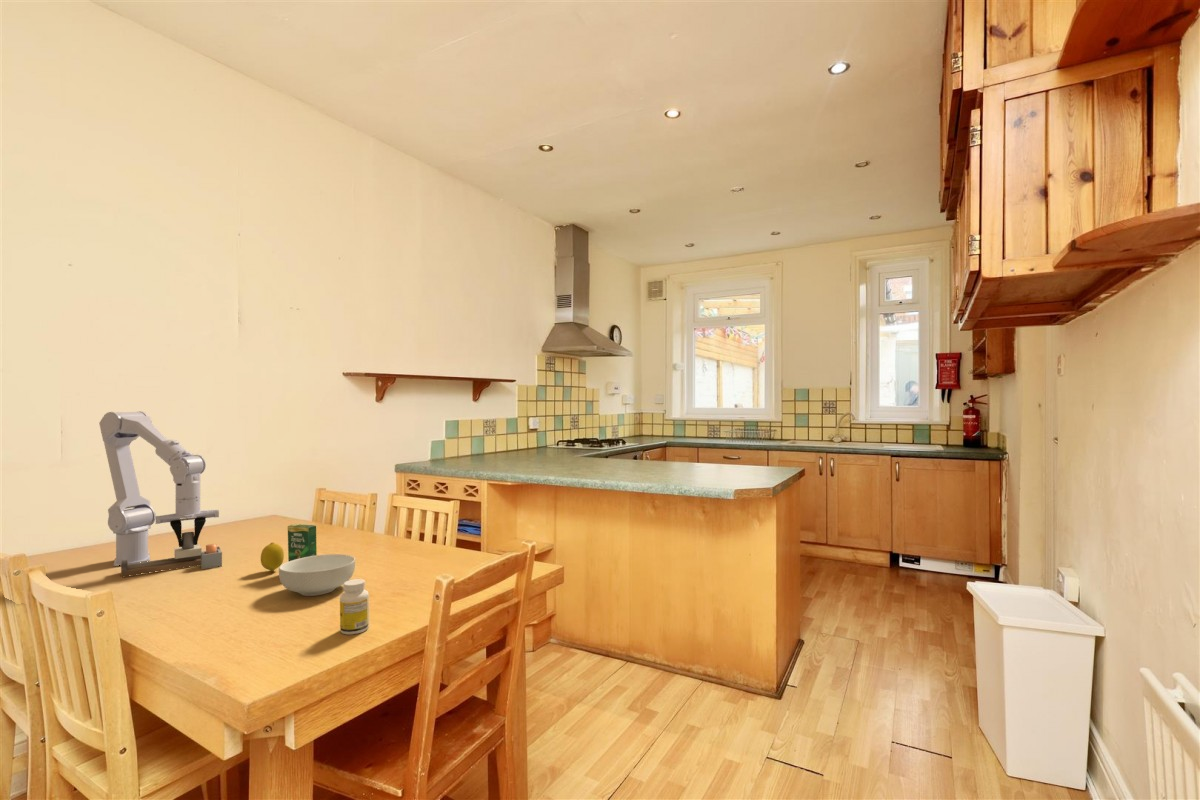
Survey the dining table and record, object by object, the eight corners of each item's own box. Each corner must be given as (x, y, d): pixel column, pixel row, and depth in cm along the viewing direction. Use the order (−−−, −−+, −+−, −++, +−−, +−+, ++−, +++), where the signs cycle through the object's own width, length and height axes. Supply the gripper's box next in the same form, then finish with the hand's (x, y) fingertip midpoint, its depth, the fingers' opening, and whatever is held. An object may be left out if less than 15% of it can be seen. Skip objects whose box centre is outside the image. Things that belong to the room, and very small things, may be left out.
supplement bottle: (345, 625, 115) (345, 578, 115) (372, 624, 115) (372, 577, 115) (335, 636, 109) (335, 586, 109) (363, 634, 110) (363, 585, 110)
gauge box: (200, 565, 157) (200, 551, 157) (220, 562, 160) (220, 549, 160) (202, 569, 154) (202, 555, 154) (221, 566, 157) (221, 552, 157)
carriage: (174, 555, 158) (174, 532, 158) (200, 551, 162) (200, 529, 162) (175, 558, 154) (175, 536, 154) (201, 555, 158) (201, 532, 158)
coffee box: (286, 573, 150) (286, 525, 150) (296, 570, 153) (296, 522, 153) (308, 576, 147) (308, 527, 147) (317, 573, 150) (317, 525, 150)
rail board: (121, 572, 151) (121, 559, 151) (218, 557, 165) (218, 546, 165) (121, 577, 147) (121, 564, 147) (220, 562, 161) (220, 550, 161)
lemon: (273, 575, 148) (273, 545, 148) (255, 574, 150) (255, 544, 150) (288, 569, 154) (288, 540, 154) (271, 568, 155) (271, 539, 155)
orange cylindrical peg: (205, 557, 157) (205, 544, 157) (216, 555, 159) (216, 543, 159) (206, 559, 155) (206, 546, 155) (217, 557, 157) (217, 545, 157)
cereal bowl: (370, 583, 141) (370, 556, 141) (317, 606, 126) (317, 575, 126) (318, 577, 147) (318, 550, 147) (262, 598, 131) (262, 568, 131)
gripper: (155, 502, 151) (155, 552, 151) (219, 497, 160) (219, 543, 160) (155, 499, 156) (155, 547, 156) (217, 493, 165) (217, 539, 165)
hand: (188, 545), depth 158 cm, fingers closed on carriage, 3 cm apart
